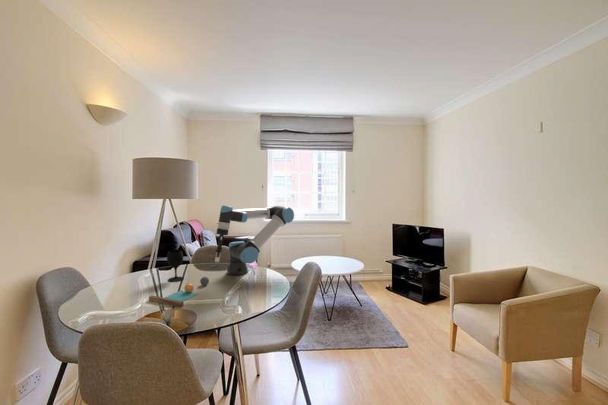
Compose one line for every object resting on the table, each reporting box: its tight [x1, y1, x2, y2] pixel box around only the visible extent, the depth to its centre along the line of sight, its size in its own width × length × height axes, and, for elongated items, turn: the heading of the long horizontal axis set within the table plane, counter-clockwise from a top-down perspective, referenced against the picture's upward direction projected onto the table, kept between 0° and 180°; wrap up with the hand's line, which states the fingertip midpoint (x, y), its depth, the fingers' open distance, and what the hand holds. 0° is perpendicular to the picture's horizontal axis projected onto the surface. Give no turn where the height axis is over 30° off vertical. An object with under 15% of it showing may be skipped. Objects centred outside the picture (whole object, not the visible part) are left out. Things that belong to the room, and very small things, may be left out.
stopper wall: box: [148, 294, 185, 308], centre depth 176 cm, size 2×24×2 cm, turn 67°
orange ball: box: [183, 283, 195, 293], centre depth 192 cm, size 6×6×6 cm
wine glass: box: [166, 249, 185, 283], centre depth 216 cm, size 10×10×20 cm
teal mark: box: [164, 289, 198, 303], centre depth 186 cm, size 14×14×1 cm
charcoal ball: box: [199, 276, 210, 286], centre depth 205 cm, size 6×6×6 cm
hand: (217, 260), depth 207 cm, fingers open, 13 cm apart
